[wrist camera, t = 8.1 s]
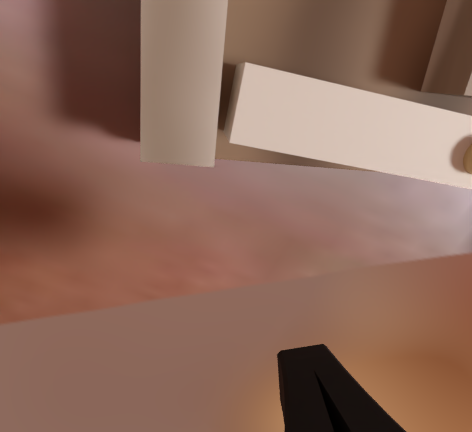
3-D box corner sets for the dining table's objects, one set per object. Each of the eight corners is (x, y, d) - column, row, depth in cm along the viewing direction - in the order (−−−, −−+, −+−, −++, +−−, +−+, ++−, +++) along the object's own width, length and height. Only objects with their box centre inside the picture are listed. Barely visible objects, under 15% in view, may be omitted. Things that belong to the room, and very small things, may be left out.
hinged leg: (474, 120, 15) (541, 131, 12) (449, 176, 16) (506, 198, 13) (236, 64, 13) (248, 61, 10) (223, 131, 14) (231, 146, 11)
